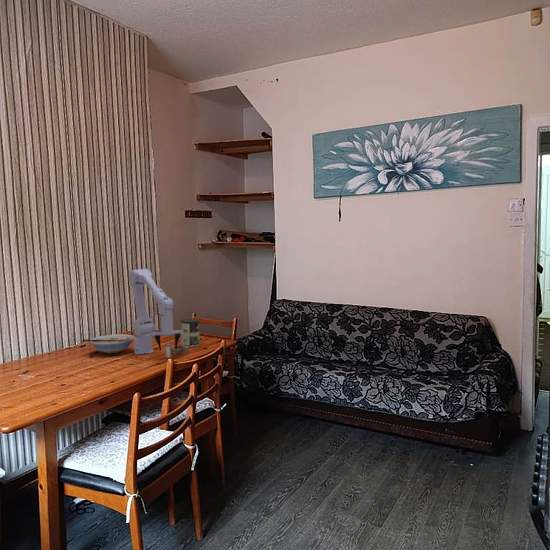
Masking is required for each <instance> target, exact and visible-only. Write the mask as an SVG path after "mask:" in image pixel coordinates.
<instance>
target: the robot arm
mask: <svg viewBox="0 0 550 550" xmlns="http://www.w3.org/2000/svg"><path fill="white" fill-rule="evenodd" d="M128 278H129V283H130V286H131V289H132V294H133V299H134V305H135V310H136V316H137V318H136V319H135V321H134V322H133V332H134V334H135V336H134V339H133V343H134V344H133V345H134V346H133V350H134V355H142V354H143V355H144V353H145V354H153V353H154V348H153V337H154V339H155V341H156V343H157V345H158V349H159V352H160V351H162V347H161V336H165V337H166V336H174V346H175V349H177V346H178V344H179V340H180V339H181V335H182V330H181V329H180V330H179V329H176V330H174V325H173V324H174V323H173V322H174V320H173V310H174V308H175V301H174V299H173V298H171V297H168V296H167V294H166V293H165V292H164V290H163V289H162V288H158V286H157V284H156V282H155V280H154V279H153V273H152V272H151V270H150V269H149V268H144V269H143V268H140V269H132V270H131V271H130V272H129V274H128ZM145 286H146V287H147V288H148V289H149V290H150V291H151V292H152V293H151V296H152V297H153V299H154V300H155V302H156V303H157V309H158V311H159V314H160V327H161V328H160V331H156V326H155V323H154V320H153V318H151V317H150V316H149V315H148V310H147V304H146V299H145V294H144V287H145Z"/></svg>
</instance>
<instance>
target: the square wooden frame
mask: <svg viewBox="0 0 550 550" xmlns="http://www.w3.org/2000/svg"><path fill="white" fill-rule="evenodd" d="M170 351H171V353H172V354H171V355H173V356H174V355H175V356H180V355H179V354H181V355H188V354H190V347H187V346H185V345H181V344H179V345H177V349H175V345H173V346H171V345H170ZM187 353H188V354H187Z"/></svg>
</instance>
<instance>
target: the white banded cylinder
mask: <svg viewBox="0 0 550 550" xmlns="http://www.w3.org/2000/svg"><path fill="white" fill-rule="evenodd" d="M164 346H165V358H166V359H170V357H172V354H171V351H170V347H171V343H168V342H167V343H165V345H164Z"/></svg>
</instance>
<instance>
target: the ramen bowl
mask: <svg viewBox="0 0 550 550" xmlns="http://www.w3.org/2000/svg"><path fill="white" fill-rule="evenodd" d="M134 337H135V336H134V335H132V334H124V333H123V334H119V333H118V334H107V335H105V334H104V335H100V336H96V337H94V338H93V337H92V338H91V339H82V340H81V341H82V342H83V343H85V342H86V343H87V342H90V344H91V345H92V347H93V348H94V349H95V350H96V351H98V352H100V353H105V354H107V353H108V354H109V355H111V353H114V354H117V353H120V352H121V351H124V350H126V349H127V348H129V346H131V344H132V342H134ZM108 354H107V355H108Z"/></svg>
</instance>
